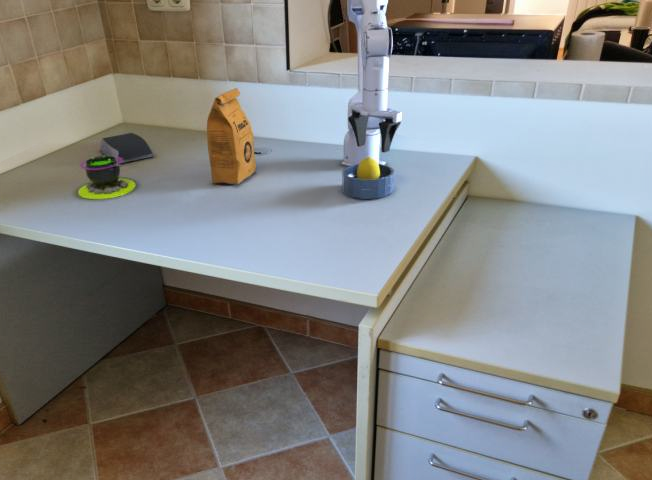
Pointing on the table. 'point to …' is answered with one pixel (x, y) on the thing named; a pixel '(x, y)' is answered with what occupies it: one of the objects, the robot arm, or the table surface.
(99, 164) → the toy cauldron
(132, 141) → the hard drive
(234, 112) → the coffee package
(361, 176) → the lemon
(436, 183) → the table surface
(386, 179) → the bowl
